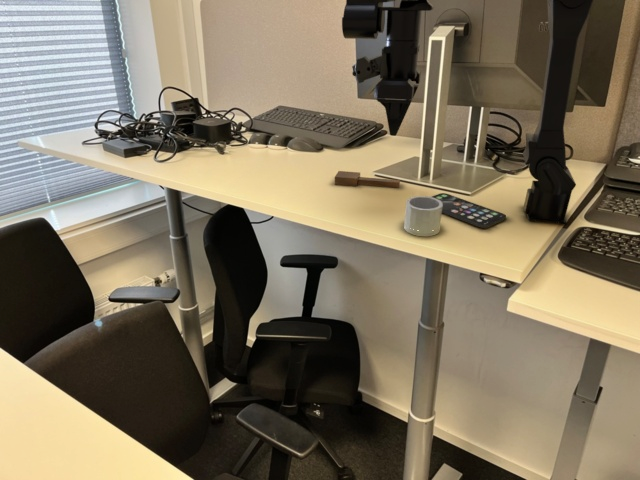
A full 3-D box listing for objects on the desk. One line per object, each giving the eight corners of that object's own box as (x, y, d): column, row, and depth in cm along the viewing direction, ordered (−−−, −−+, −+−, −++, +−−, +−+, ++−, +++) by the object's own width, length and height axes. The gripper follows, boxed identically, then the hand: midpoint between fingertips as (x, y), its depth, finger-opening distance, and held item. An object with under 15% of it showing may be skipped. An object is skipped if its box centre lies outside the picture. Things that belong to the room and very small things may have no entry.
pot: (440, 222, 85) (443, 197, 83) (439, 238, 80) (442, 211, 78) (405, 219, 87) (408, 194, 84) (402, 234, 81) (404, 208, 79)
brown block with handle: (400, 183, 103) (400, 175, 102) (398, 189, 100) (399, 181, 99) (338, 178, 106) (338, 170, 105) (334, 184, 103) (334, 176, 102)
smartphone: (443, 192, 96) (508, 215, 86) (442, 195, 97) (507, 218, 86) (419, 201, 92) (484, 226, 82) (418, 204, 93) (484, 229, 82)
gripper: (365, 34, 91) (363, 115, 98) (345, 44, 75) (343, 139, 82) (424, 35, 88) (416, 118, 96) (415, 45, 72) (407, 143, 80)
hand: (396, 129), depth 88 cm, fingers open, 9 cm apart
